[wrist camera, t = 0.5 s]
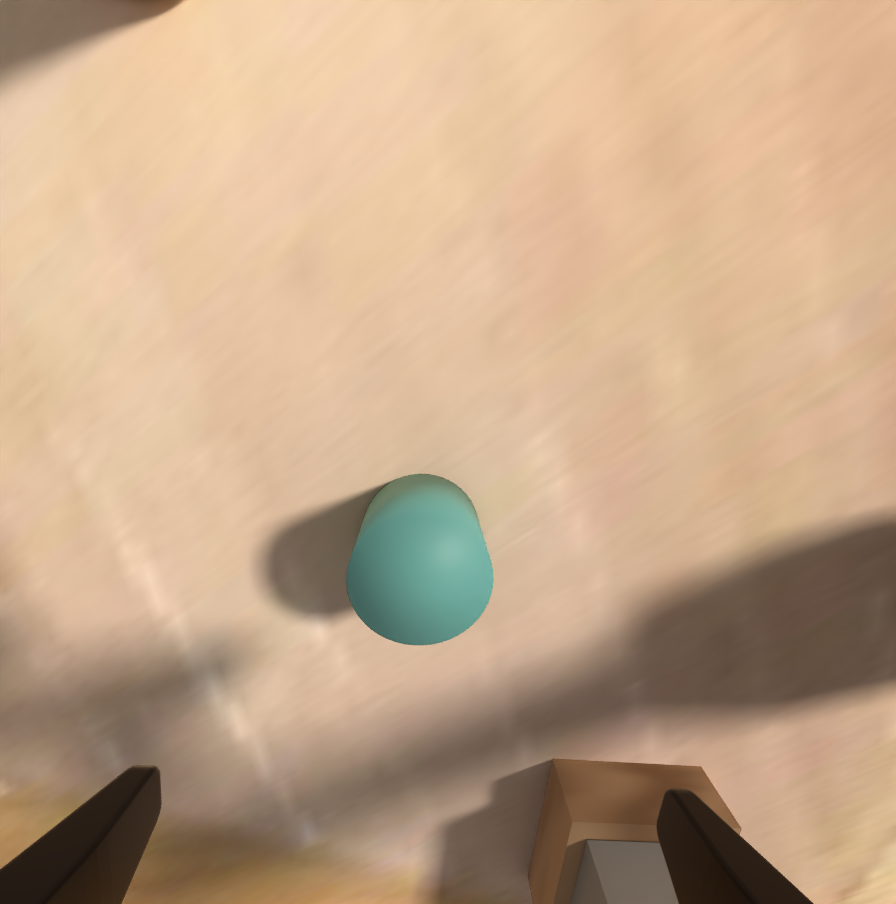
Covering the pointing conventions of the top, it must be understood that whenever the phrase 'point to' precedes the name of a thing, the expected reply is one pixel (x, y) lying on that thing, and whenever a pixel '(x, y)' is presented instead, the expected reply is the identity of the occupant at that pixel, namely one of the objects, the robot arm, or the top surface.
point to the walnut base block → (604, 815)
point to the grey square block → (623, 874)
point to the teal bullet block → (420, 562)
